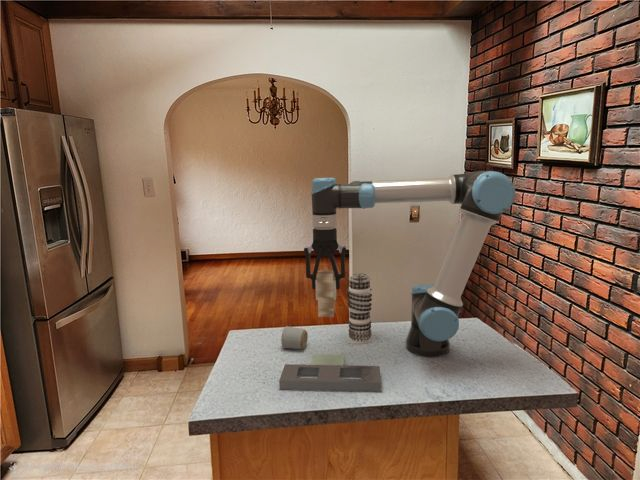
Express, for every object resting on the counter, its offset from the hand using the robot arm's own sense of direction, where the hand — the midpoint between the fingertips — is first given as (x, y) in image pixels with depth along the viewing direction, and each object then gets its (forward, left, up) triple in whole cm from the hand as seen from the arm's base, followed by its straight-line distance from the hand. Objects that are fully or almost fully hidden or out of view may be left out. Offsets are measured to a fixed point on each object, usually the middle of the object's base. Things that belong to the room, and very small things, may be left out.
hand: (326, 298), depth 134 cm
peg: (0, 0, -5) cm, 5 cm away
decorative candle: (-11, -20, -23) cm, 33 cm away
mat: (0, 0, -23) cm, 23 cm away
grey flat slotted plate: (-2, +12, -23) cm, 26 cm away
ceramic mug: (+13, -13, -23) cm, 30 cm away
